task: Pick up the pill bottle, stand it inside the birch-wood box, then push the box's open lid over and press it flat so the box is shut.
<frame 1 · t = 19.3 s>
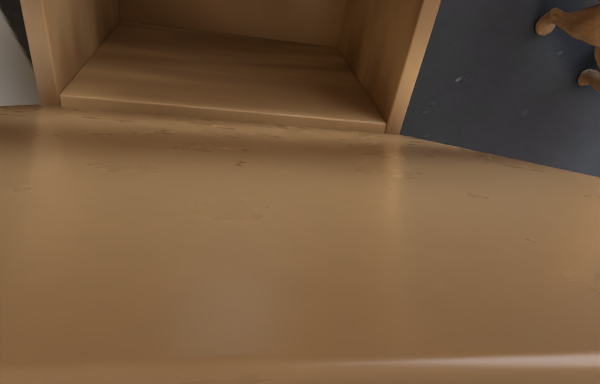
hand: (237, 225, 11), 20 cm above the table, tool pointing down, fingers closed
lion figurine: (586, 29, 30), on the table
cover: (243, 159, 9), point 20 cm above the table, hinge at 67.2°, touching gripper
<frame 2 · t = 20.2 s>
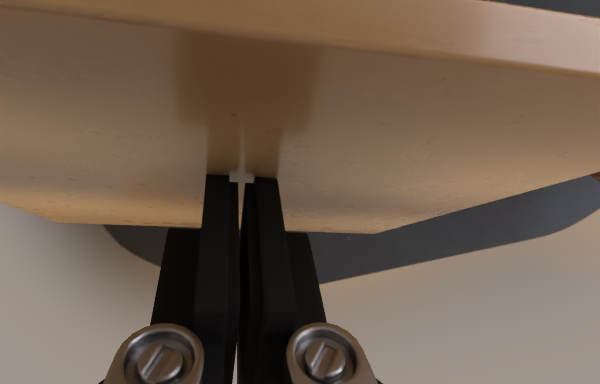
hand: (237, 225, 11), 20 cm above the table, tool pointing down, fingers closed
cover: (236, 181, 12), point 18 cm above the table, hinge at 43.8°
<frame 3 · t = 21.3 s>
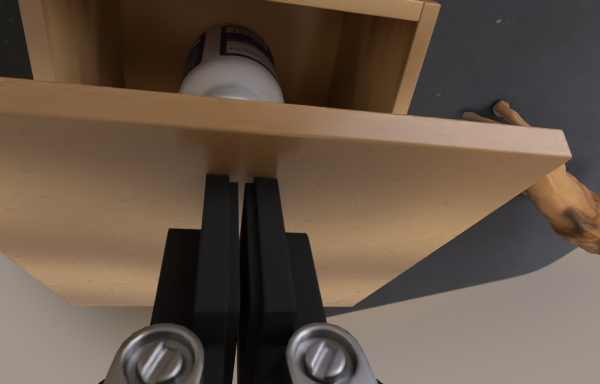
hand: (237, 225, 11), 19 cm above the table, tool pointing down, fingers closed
lion figurine: (524, 152, 35), on the table
cover: (228, 249, 15), point 16 cm above the table, hinge at 28.9°
case box: (231, 75, 28), on the table
pill bottle: (231, 65, 27), point 1 cm above the table, touching case box
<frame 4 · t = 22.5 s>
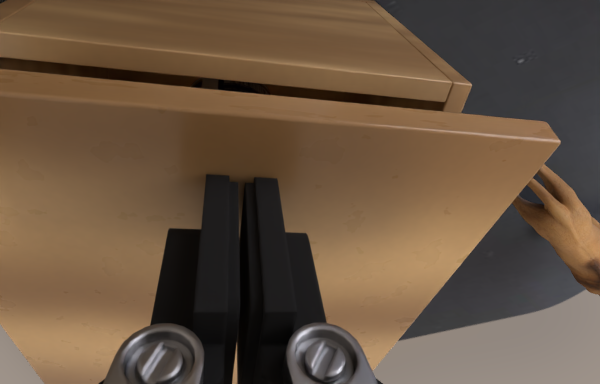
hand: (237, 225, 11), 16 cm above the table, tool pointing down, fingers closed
lion figurine: (543, 192, 33), on the table
cover: (227, 297, 15), point 14 cm above the table, hinge at 12.4°
case box: (229, 119, 26), on the table
pill bottle: (230, 110, 25), point 1 cm above the table, touching case box
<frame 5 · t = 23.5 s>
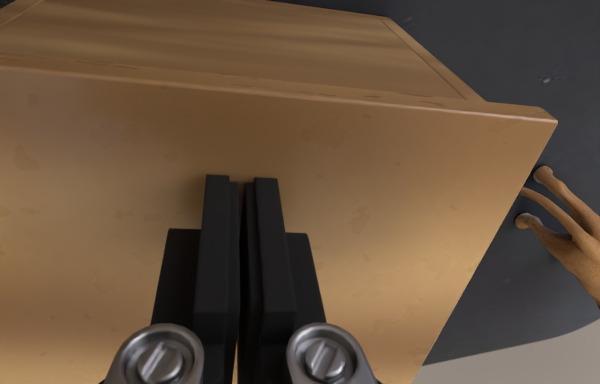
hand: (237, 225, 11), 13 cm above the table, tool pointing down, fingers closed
lion figurine: (565, 217, 31), on the table
cover: (226, 325, 14), point 12 cm above the table, hinge at 1.0°, touching gripper
case box: (229, 145, 24), on the table
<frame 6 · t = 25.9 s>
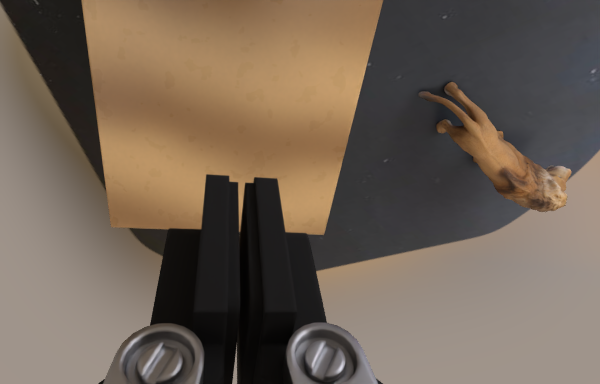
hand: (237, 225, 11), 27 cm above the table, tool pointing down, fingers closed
lion figurine: (474, 126, 42), on the table
cover: (229, 123, 25), point 12 cm above the table, hinge at 1.0°
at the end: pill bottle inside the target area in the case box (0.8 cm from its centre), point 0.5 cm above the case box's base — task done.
